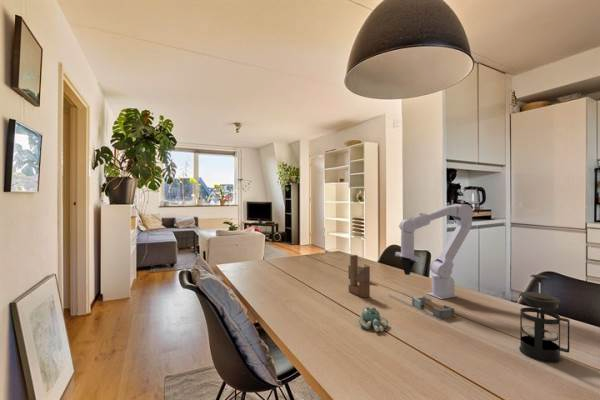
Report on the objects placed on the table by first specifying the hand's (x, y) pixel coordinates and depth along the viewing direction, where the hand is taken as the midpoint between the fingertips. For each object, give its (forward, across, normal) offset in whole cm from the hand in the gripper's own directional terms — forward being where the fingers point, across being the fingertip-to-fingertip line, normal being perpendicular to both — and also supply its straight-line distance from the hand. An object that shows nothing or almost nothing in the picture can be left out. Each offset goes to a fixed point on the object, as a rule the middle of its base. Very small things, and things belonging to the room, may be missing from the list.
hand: (407, 274), depth 135 cm
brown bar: (+10, +20, -4) cm, 23 cm away
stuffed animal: (+10, +21, -34) cm, 41 cm away
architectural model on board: (+11, -31, -7) cm, 33 cm away
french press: (+10, +55, 0) cm, 56 cm away
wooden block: (+10, -10, -20) cm, 25 cm away
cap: (+10, +13, -4) cm, 17 cm away
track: (+10, +12, -4) cm, 16 cm away
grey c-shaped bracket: (+10, +24, -4) cm, 26 cm away
